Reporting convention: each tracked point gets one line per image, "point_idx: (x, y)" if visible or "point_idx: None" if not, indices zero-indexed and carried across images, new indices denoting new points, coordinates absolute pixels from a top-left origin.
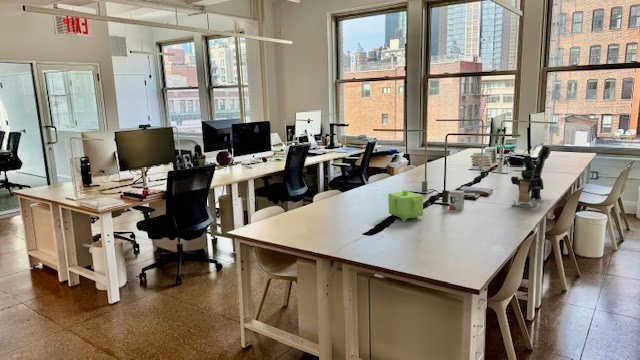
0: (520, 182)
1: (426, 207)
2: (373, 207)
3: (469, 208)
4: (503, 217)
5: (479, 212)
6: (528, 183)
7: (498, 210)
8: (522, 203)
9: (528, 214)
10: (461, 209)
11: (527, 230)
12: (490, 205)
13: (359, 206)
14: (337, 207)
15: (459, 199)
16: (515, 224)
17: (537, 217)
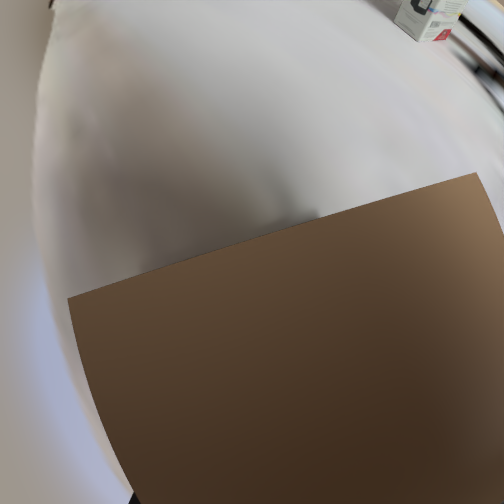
0: (458, 177)
1: (465, 26)
2: (484, 9)
3: (409, 48)
4: (177, 16)
5: (320, 15)
6: (101, 376)
7: (292, 71)
8: None
9: (91, 118)
10: (396, 19)
11: (55, 14)
12: (426, 147)
13: (494, 12)
14: (490, 3)
15: None
16: (98, 10)
17: (40, 114)
